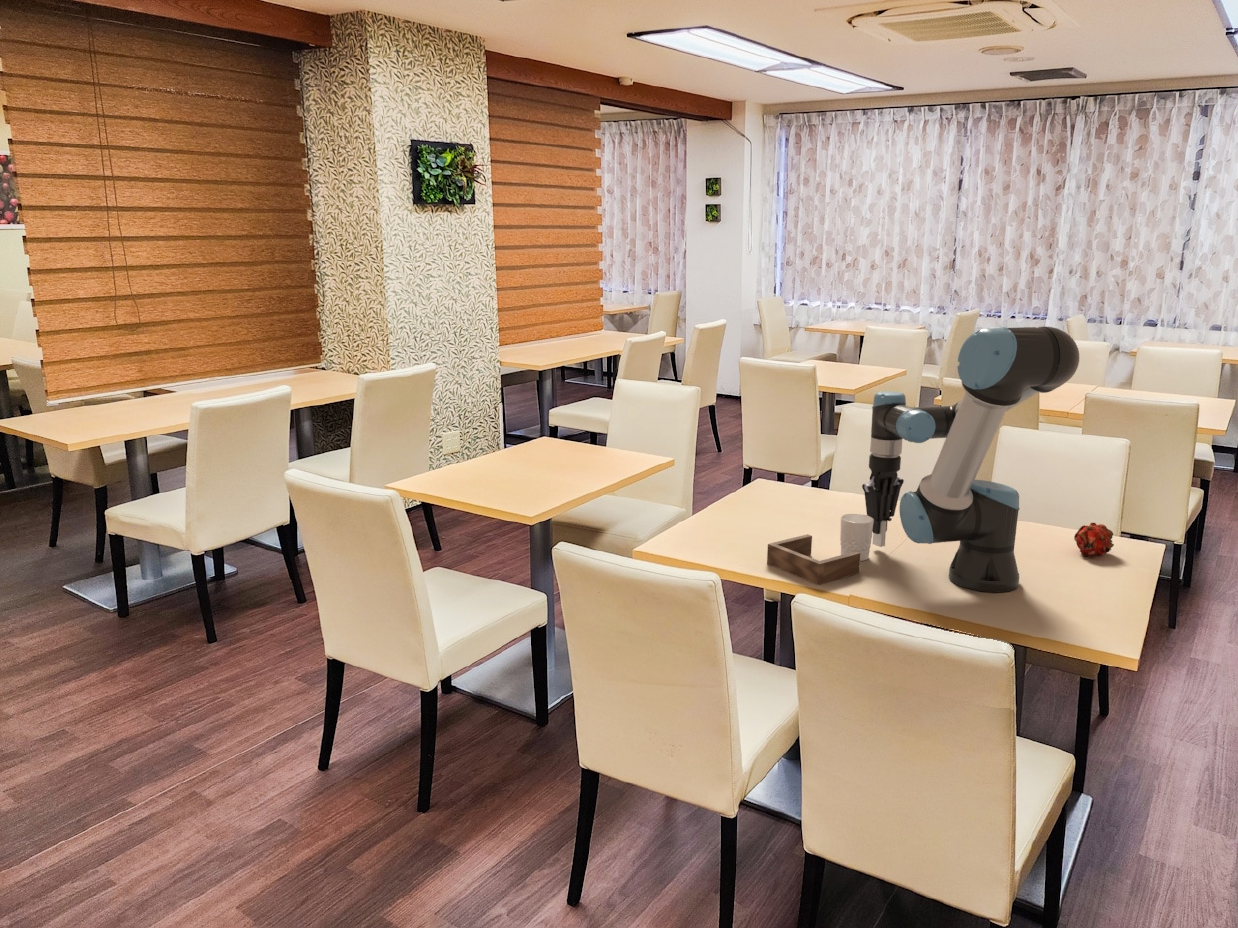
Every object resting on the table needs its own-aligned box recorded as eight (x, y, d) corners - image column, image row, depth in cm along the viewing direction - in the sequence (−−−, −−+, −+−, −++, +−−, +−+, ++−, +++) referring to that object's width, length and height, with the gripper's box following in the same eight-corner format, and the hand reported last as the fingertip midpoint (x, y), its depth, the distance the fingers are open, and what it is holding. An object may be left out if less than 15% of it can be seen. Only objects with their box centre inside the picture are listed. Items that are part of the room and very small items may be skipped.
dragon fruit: (1101, 553, 238) (1087, 572, 230) (1073, 530, 241) (1059, 548, 232) (1125, 533, 233) (1112, 552, 224) (1097, 510, 235) (1083, 527, 227)
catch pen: (858, 573, 219) (860, 553, 218) (818, 584, 212) (819, 564, 211) (806, 553, 233) (807, 534, 232) (766, 563, 226) (767, 543, 224)
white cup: (871, 563, 226) (874, 524, 224) (838, 560, 228) (841, 521, 225) (870, 552, 234) (872, 514, 231) (837, 550, 235) (840, 512, 233)
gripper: (890, 448, 236) (884, 536, 242) (855, 454, 229) (849, 545, 235) (915, 453, 230) (907, 544, 236) (879, 460, 223) (872, 553, 229)
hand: (878, 544), depth 235 cm, fingers closed
